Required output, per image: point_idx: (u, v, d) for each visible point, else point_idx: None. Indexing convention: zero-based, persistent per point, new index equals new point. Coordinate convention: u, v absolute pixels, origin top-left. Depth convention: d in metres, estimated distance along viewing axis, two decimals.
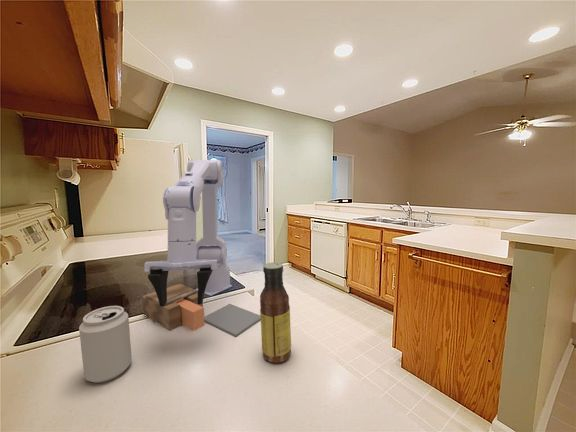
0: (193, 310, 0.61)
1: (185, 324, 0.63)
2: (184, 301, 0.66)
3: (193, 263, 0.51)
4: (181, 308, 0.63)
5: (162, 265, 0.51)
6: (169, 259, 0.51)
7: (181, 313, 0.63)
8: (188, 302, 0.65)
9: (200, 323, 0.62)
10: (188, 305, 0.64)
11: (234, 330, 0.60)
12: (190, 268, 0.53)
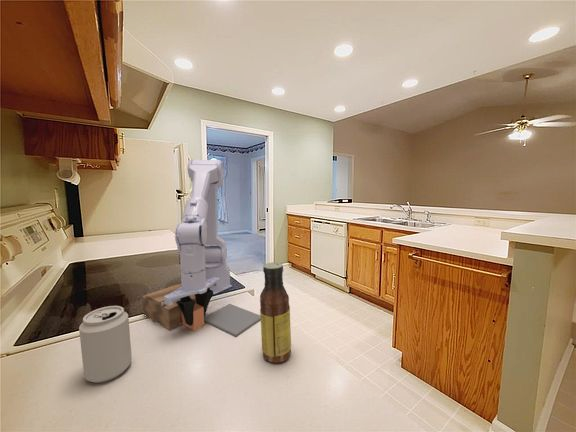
0: (193, 310, 0.61)
1: (185, 323, 0.63)
2: None
3: (209, 285, 0.63)
4: None
5: (187, 295, 0.58)
6: (192, 288, 0.59)
7: (181, 312, 0.63)
8: None
9: (200, 322, 0.62)
10: None
11: (234, 330, 0.60)
12: None
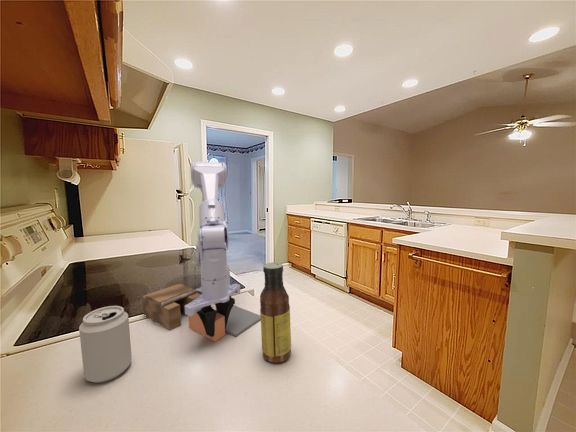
0: None
1: (205, 334, 0.59)
2: None
3: (230, 293, 0.58)
4: None
5: (209, 304, 0.53)
6: (214, 296, 0.54)
7: (200, 322, 0.59)
8: None
9: (221, 333, 0.58)
10: None
11: (234, 330, 0.60)
12: None
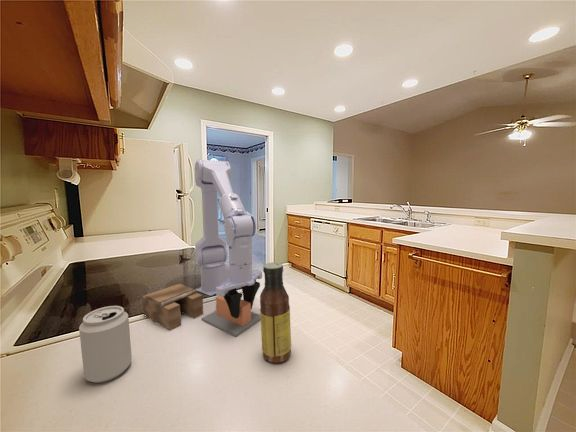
0: (241, 306, 0.62)
1: (232, 319, 0.64)
2: None
3: (254, 278, 0.64)
4: None
5: (237, 286, 0.59)
6: (241, 280, 0.60)
7: (228, 308, 0.64)
8: None
9: (247, 318, 0.63)
10: None
11: (234, 330, 0.60)
12: None
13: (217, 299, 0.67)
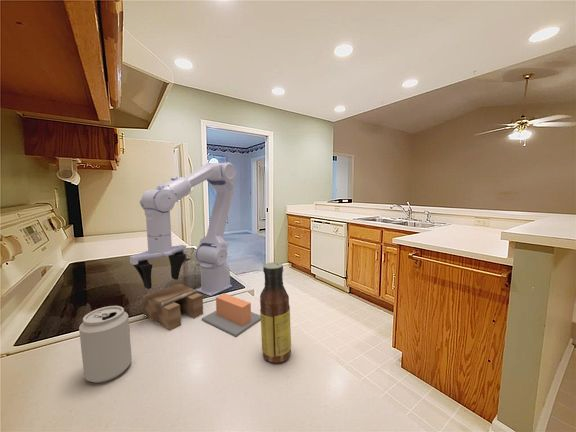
0: (241, 306, 0.62)
1: (232, 319, 0.64)
2: (229, 297, 0.67)
3: (174, 250, 0.68)
4: (228, 303, 0.64)
5: (152, 256, 0.62)
6: (157, 250, 0.63)
7: (228, 308, 0.64)
8: (233, 298, 0.66)
9: (247, 318, 0.63)
10: (234, 301, 0.65)
11: (234, 330, 0.60)
12: (167, 254, 0.68)
13: (217, 299, 0.67)
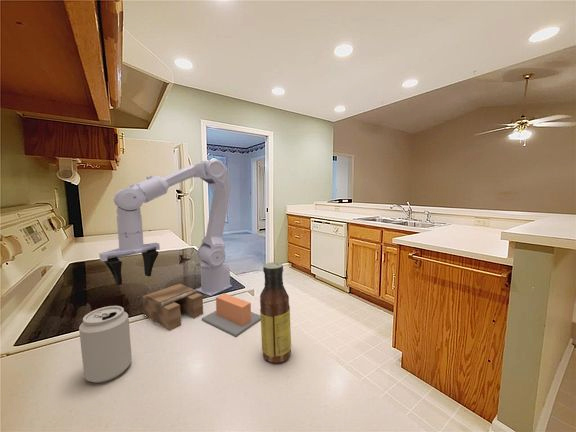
0: (241, 306, 0.62)
1: (232, 319, 0.64)
2: (229, 297, 0.67)
3: (146, 247, 0.69)
4: (228, 303, 0.64)
5: (121, 253, 0.64)
6: (127, 247, 0.65)
7: (228, 308, 0.64)
8: (233, 298, 0.66)
9: (247, 318, 0.63)
10: (234, 301, 0.65)
11: (234, 330, 0.60)
12: (139, 252, 0.70)
13: (217, 299, 0.67)
